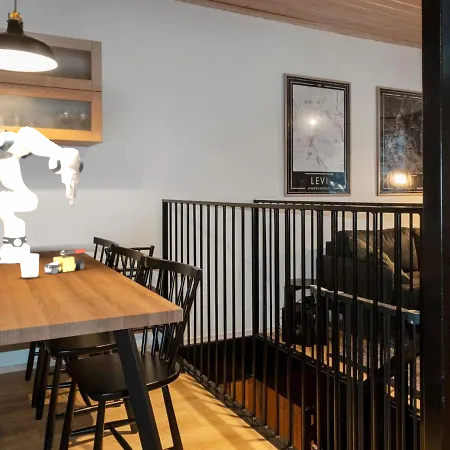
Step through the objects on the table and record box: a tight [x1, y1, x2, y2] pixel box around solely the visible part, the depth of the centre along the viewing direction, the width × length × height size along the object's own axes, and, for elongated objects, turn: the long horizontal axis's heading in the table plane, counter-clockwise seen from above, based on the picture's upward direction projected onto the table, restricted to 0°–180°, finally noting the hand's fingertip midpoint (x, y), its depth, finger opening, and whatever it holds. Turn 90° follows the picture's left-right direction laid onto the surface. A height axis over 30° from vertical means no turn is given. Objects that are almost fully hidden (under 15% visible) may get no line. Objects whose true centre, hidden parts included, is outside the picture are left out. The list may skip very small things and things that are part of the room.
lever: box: [59, 248, 86, 256], centre depth 235 cm, size 14×3×2 cm, turn 145°
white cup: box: [20, 253, 40, 279], centre depth 215 cm, size 8×8×10 cm
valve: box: [44, 255, 85, 275], centre depth 232 cm, size 20×7×8 cm, turn 148°
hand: (71, 206), depth 243 cm, fingers closed
